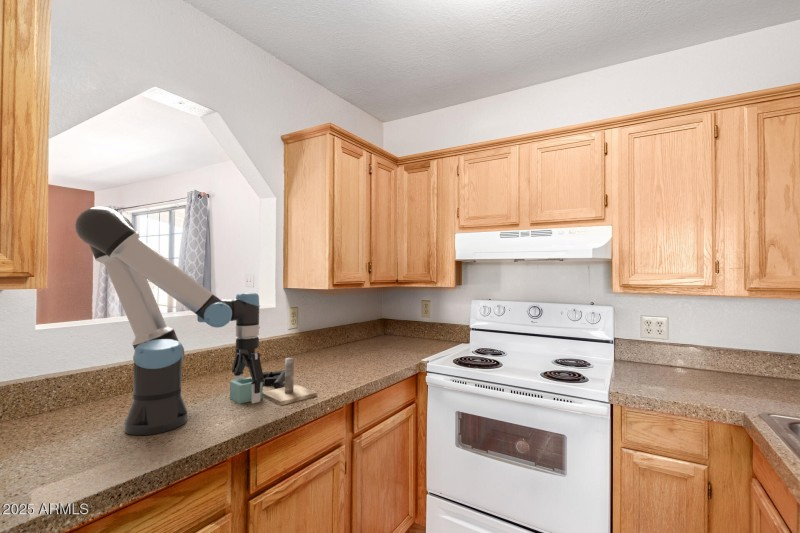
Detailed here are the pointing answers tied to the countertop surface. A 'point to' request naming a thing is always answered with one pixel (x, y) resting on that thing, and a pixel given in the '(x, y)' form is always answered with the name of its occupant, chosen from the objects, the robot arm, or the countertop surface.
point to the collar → (243, 390)
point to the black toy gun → (274, 378)
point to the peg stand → (289, 388)
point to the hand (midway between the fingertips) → (247, 397)
